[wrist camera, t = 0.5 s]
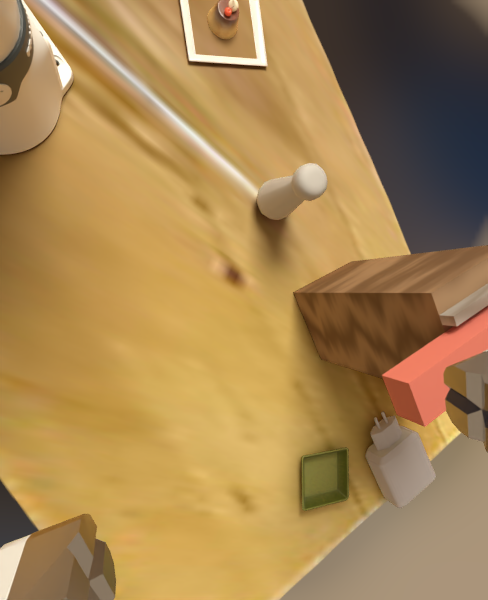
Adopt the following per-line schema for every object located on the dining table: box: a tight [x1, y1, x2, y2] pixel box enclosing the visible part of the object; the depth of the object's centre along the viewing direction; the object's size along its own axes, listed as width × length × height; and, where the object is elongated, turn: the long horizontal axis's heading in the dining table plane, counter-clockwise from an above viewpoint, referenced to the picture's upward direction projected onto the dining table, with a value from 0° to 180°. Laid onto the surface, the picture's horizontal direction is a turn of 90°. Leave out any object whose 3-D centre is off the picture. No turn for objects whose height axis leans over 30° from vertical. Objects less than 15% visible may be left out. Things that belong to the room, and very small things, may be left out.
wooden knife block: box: [293, 245, 488, 379], centre depth 48 cm, size 12×12×28 cm
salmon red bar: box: [382, 306, 488, 427], centre depth 34 cm, size 4×22×3 cm, turn 115°
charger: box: [365, 412, 436, 508], centre depth 63 cm, size 5×9×15 cm
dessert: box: [180, 0, 267, 66], centre depth 51 cm, size 12×12×5 cm
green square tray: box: [302, 448, 349, 511], centre depth 59 cm, size 9×9×2 cm
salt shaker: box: [257, 163, 327, 220], centre depth 50 cm, size 6×6×13 cm
